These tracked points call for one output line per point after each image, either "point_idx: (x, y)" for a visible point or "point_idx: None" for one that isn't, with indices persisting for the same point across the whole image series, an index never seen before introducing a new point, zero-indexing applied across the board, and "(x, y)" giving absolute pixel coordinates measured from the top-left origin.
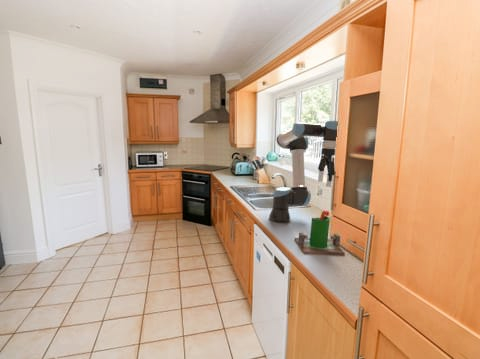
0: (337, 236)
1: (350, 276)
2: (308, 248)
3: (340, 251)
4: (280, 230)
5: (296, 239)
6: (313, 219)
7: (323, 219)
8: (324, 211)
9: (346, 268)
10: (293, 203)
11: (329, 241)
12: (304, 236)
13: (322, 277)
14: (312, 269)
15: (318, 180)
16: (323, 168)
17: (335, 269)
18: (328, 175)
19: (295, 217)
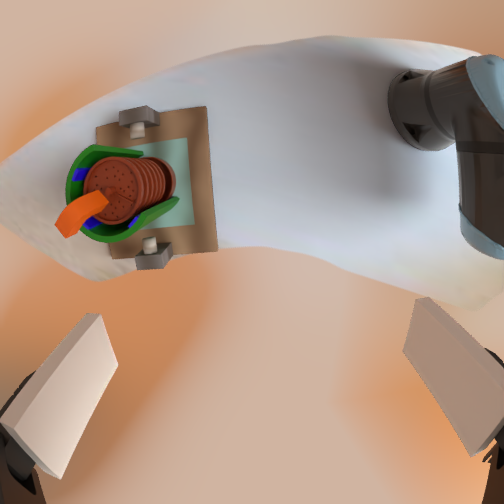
0: (135, 258)
1: (26, 228)
2: (116, 143)
3: (114, 247)
4: (302, 74)
5: (187, 110)
6: (85, 151)
7: (129, 213)
8: (63, 212)
9: (50, 232)
10: (457, 151)
11: (188, 237)
12: (121, 125)
13: (14, 164)
14: (35, 145)
15: (424, 308)
16: (492, 494)
17: (41, 202)
18: (6, 427)
19: (448, 185)
